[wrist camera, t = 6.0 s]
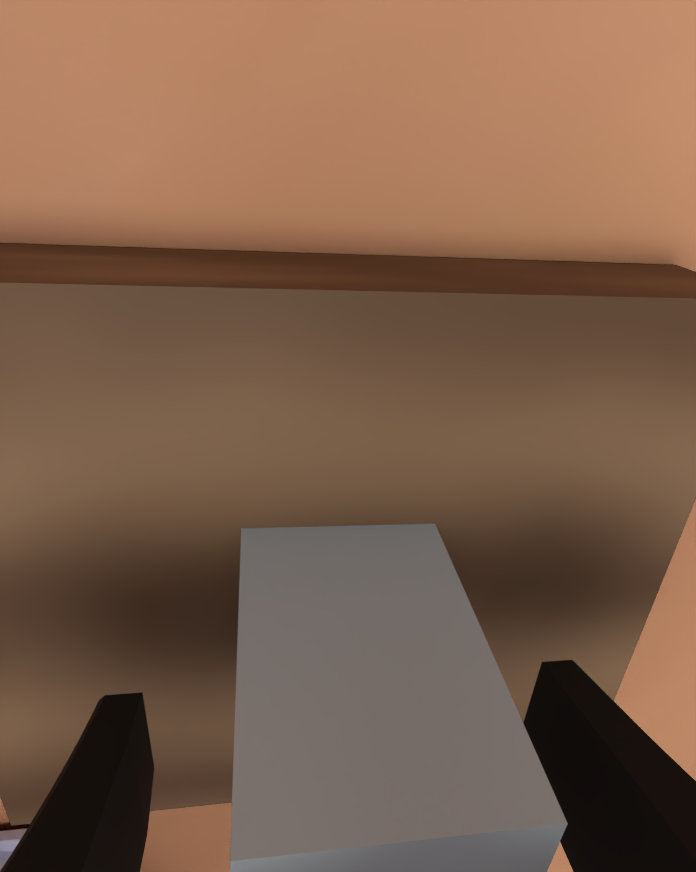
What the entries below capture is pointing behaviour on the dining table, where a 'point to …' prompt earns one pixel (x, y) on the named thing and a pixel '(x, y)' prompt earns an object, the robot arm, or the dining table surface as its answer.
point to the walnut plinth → (317, 466)
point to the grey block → (375, 714)
